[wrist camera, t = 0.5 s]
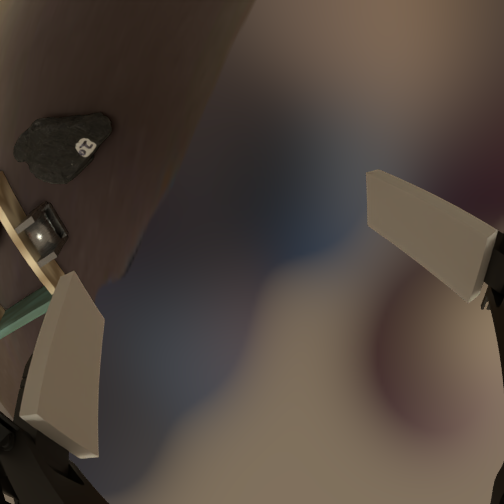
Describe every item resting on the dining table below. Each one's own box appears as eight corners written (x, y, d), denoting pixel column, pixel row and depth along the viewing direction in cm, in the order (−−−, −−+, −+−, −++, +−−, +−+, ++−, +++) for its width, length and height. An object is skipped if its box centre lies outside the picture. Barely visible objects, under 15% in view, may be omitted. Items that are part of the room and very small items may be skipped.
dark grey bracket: (28, 213, 30) (12, 230, 26) (48, 199, 31) (33, 214, 26) (50, 248, 34) (38, 269, 29) (70, 235, 34) (59, 255, 29)
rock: (120, 126, 30) (112, 129, 25) (70, 188, 31) (56, 203, 26) (73, 83, 25) (57, 79, 20) (25, 148, 27) (5, 156, 22)
